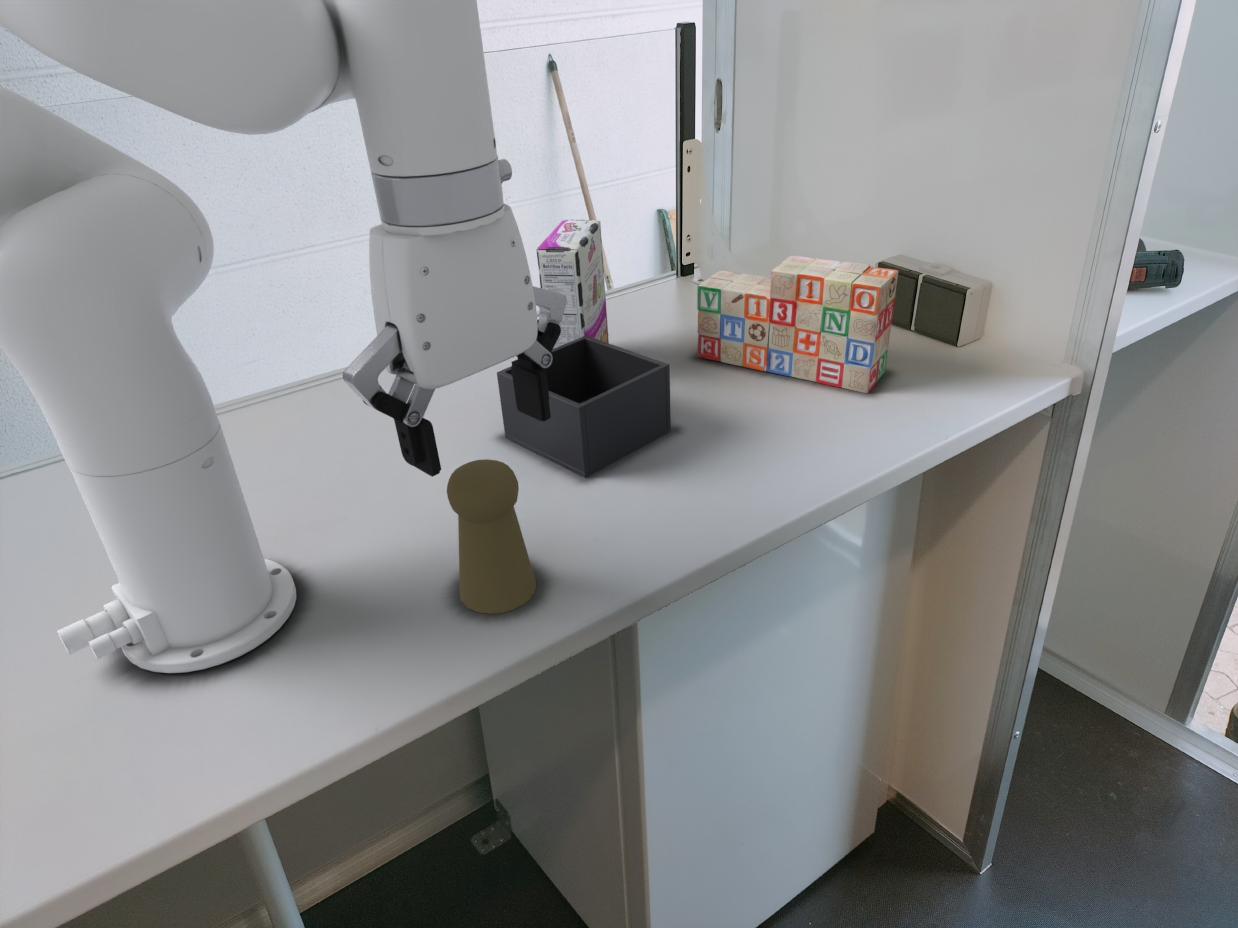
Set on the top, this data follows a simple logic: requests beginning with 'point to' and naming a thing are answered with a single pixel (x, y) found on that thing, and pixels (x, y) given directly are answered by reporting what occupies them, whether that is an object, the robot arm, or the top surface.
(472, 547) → the cork
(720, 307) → the stack of blocks
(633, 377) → the basket
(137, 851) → the top surface
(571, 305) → the candy bar box
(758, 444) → the top surface
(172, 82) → the robot arm
